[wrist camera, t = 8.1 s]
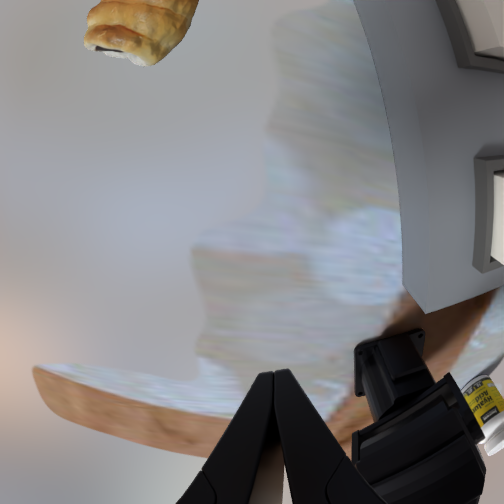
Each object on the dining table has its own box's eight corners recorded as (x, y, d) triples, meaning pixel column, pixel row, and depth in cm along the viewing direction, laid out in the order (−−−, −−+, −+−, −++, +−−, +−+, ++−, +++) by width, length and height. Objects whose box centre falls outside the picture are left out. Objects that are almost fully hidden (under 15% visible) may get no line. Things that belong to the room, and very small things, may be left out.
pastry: (149, -48, 11) (131, -72, 7) (235, -36, 12) (230, -65, 8) (89, 56, 14) (58, 46, 11) (171, 75, 15) (150, 63, 12)
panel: (520, 246, 18) (555, 270, 13) (402, 284, 20) (433, 324, 15) (481, -14, 9) (516, -28, 4) (335, -40, 11) (355, -79, 6)
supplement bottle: (478, 369, 24) (514, 428, 15) (493, 377, 25) (526, 428, 16) (447, 400, 26) (476, 461, 17) (465, 405, 27) (492, 458, 18)
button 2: (515, 63, 9) (546, 61, 6) (467, 53, 10) (500, 46, 7) (492, -3, 7) (518, -13, 4) (439, -20, 8) (465, -36, 5)
